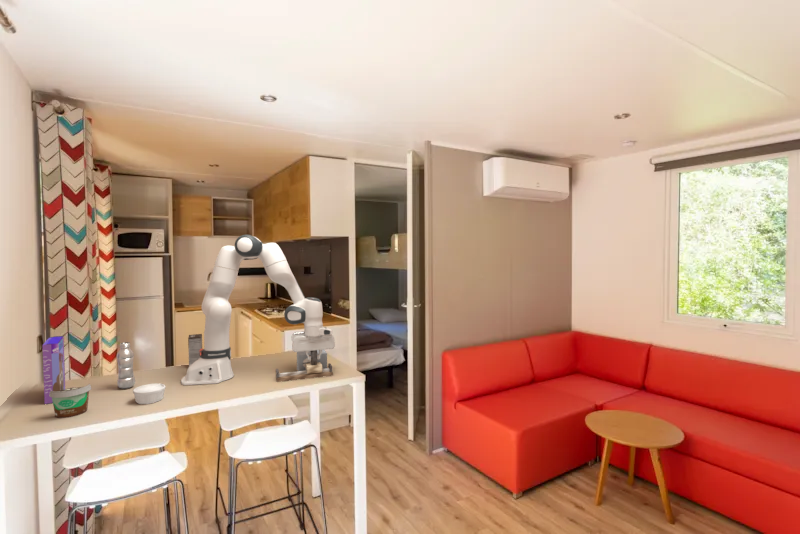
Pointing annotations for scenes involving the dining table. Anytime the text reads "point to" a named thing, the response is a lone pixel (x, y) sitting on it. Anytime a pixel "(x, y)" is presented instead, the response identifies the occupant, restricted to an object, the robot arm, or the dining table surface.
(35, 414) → the dining table surface
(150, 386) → the ramekin
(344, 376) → the dining table surface
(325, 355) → the gauge cabinet
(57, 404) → the food container
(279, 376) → the rail
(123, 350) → the plastic bottle
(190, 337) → the coffee box
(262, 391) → the dining table surface
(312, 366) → the carriage
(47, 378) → the cereal box
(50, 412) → the dining table surface
